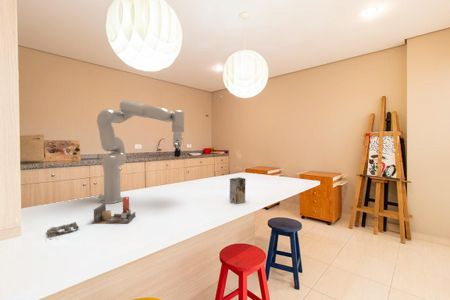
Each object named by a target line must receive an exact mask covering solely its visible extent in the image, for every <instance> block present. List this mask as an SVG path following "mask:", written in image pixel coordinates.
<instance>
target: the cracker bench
mask: <svg viewBox="0 0 450 300" xmlns="http://www.w3.org/2000/svg"><path fill="white" fill-rule="evenodd" d="M106 207H107V206H106V204H105V203H102V204H101V205H99V206H97V207H96V208H94V209H93V222H92V223H91V224H92V225H129V224H130V223H131V222H132V221H133V220H134V219H135V218H136V217H137V215H136V212H135V211H134V212H133V213H131V216H129V217H128V219H121V213H114V214H113V215H111V219H107V221H102V212H103V211H107V208H106Z"/></svg>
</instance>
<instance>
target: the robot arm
mask: <svg viewBox="0 0 450 300" xmlns="http://www.w3.org/2000/svg"><path fill="white" fill-rule="evenodd" d="M134 116H135V117H136V116H137V117H141V118H148V119H154V120H158V121H161V122H165V123H170V122H171V132H173V135H172V148H174V157H175V158H180V156H181V148H182V143H183V142H182V140H183V133H185V112H184V110H180V109H179V110H178V109H175V110H169V109H167V108H164V107H163V108H162V107H158V106H155V105H150V104H145V103H142V102H137V101H133V100H128V99H127V100H126V99H124V100H123V101H120V103H119V109H118V110H117V109H112V108H105V109H103V110H101V111H100V112H99V113H98V115H97V117H96V123H97V127H98V133H99V139H100V144H101V148H102V149H103V151H104V152H110V153H107V154H105V155H104V156H103V157H102V160H101V164H102V169H103V194H98V199H101V203H102V204H107V205H108V204H109V205H110V204H112V205H113V204H117V203H120V202H123V197H122V196H121V171H120V168H119V167H121V166H123V165H125V163H126V161H127V154H126V149H125V144H124V142H123V140H122V139H121V138H120V137H118V136H115V135H116V134H115V128H114V127H113V125H112V123H114V124H121V123H124V122H126V121H127V120H129V119H131V118H133V117H134Z"/></svg>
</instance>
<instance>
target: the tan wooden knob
mask: <svg viewBox="0 0 450 300" xmlns="http://www.w3.org/2000/svg"><path fill="white" fill-rule="evenodd" d="M111 216H112V211H111V210H109V209H106V211H103V212H102V221H107V219H111Z"/></svg>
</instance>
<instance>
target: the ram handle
mask: <svg viewBox="0 0 450 300" xmlns="http://www.w3.org/2000/svg"><path fill="white" fill-rule="evenodd" d="M122 198H123V200H122V212H121V213H120V214H121V219H128V217H129V216H131V214H132V210H131V209H130V197H129V196H125V197H122Z"/></svg>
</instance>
